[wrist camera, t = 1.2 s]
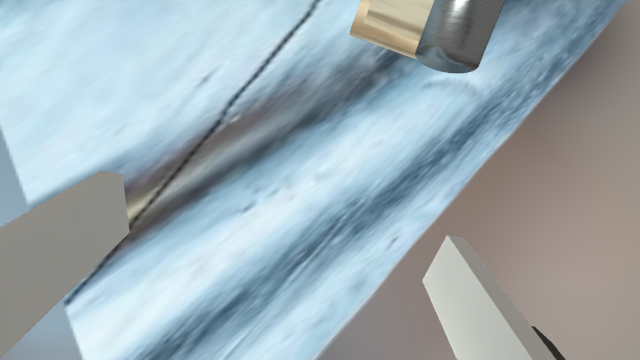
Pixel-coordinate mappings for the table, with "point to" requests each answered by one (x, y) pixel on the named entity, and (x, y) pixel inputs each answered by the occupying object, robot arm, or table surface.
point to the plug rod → (457, 34)
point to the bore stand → (392, 23)
